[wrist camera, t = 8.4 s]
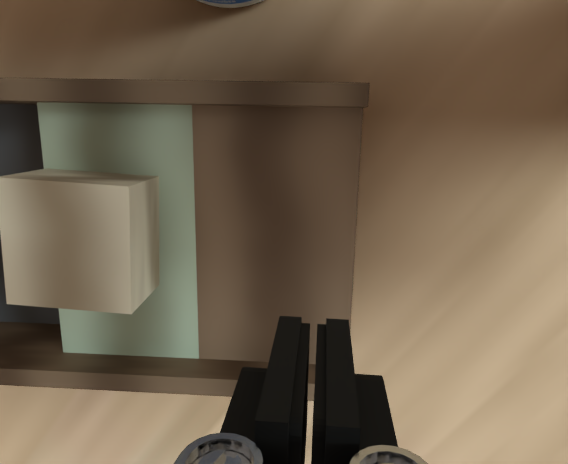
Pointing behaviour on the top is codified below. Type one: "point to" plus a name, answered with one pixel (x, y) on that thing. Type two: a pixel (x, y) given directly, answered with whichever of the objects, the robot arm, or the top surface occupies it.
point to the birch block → (79, 239)
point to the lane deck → (194, 224)
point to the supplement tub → (230, 3)
